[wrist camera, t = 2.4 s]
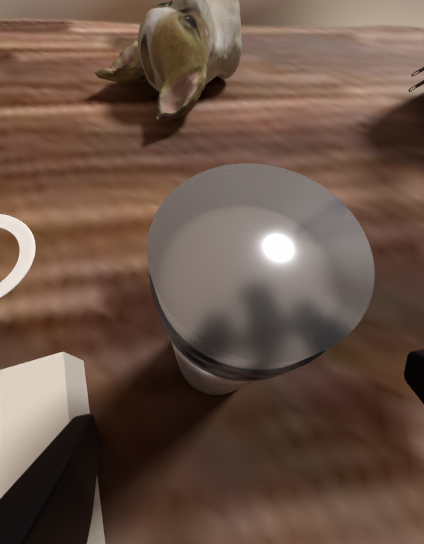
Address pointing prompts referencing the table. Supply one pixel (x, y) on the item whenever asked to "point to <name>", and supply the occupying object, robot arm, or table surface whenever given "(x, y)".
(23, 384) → the square hole plate
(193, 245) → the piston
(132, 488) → the table surface
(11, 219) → the teacup and saucer
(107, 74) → the ceramic sculpture
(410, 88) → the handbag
